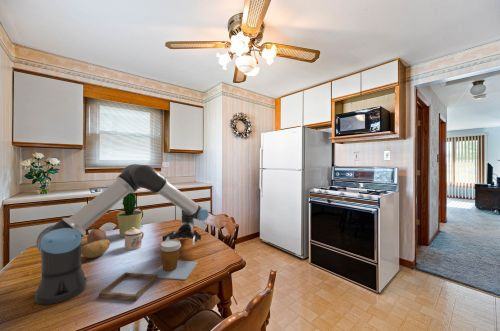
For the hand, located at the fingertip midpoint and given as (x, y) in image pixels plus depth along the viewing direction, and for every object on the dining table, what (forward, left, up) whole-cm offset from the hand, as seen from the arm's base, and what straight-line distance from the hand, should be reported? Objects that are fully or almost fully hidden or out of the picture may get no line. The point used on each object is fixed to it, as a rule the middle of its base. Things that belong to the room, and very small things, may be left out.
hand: (179, 243), depth 110 cm
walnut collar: (-10, -24, -9) cm, 28 cm away
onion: (-59, +15, -9) cm, 62 cm away
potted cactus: (-50, +33, -9) cm, 61 cm away
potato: (-46, 0, -9) cm, 47 cm away
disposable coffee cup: (-1, -8, -9) cm, 12 cm away
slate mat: (+2, -8, -9) cm, 12 cm away
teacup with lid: (-34, +15, -9) cm, 39 cm away
